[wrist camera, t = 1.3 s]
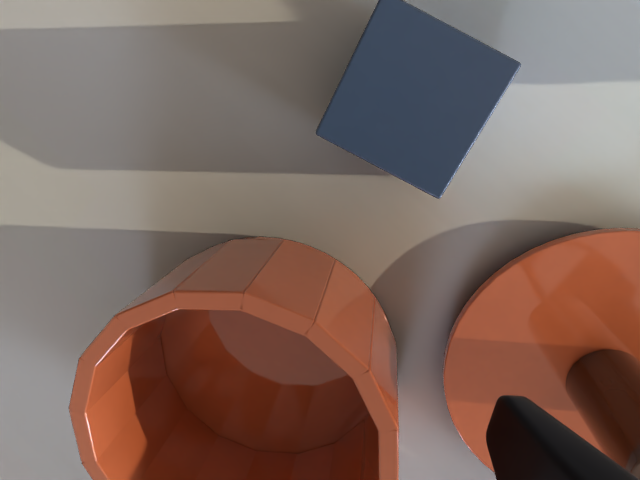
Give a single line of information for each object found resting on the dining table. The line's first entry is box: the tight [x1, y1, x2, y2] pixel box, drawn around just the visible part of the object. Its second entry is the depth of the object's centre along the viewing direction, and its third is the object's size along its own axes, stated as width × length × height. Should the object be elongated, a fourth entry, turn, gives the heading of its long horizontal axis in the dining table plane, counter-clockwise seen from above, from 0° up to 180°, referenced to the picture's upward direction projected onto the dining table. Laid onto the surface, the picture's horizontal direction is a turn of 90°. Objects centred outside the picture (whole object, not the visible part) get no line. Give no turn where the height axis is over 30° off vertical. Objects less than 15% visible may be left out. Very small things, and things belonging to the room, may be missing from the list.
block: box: [316, 0, 521, 199], centre depth 16 cm, size 5×5×5 cm
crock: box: [69, 237, 399, 480], centre depth 20 cm, size 12×12×6 cm
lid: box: [443, 228, 640, 480], centre depth 17 cm, size 13×13×7 cm
